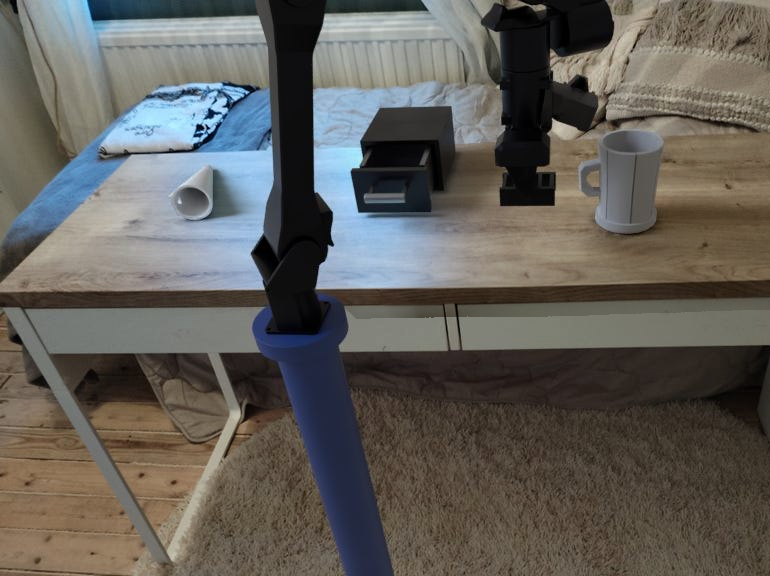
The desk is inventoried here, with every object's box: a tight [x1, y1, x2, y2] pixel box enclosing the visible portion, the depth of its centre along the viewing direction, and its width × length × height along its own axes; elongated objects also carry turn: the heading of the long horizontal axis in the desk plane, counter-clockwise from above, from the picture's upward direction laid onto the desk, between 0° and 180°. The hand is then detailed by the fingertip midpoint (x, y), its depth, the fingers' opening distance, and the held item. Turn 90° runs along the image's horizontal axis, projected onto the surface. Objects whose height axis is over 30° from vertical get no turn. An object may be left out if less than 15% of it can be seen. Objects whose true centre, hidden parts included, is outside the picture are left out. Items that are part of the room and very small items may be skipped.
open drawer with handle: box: [349, 144, 438, 214], centre depth 109 cm, size 18×11×7 cm, turn 174°
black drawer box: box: [359, 105, 457, 192], centre depth 118 cm, size 15×13×9 cm
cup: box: [577, 128, 665, 235], centre depth 99 cm, size 10×9×12 cm
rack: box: [498, 171, 557, 207], centre depth 91 cm, size 7×5×2 cm
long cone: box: [168, 164, 214, 221], centre depth 119 cm, size 6×6×19 cm
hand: (527, 190), depth 91 cm, fingers closed on rack, 5 cm apart
